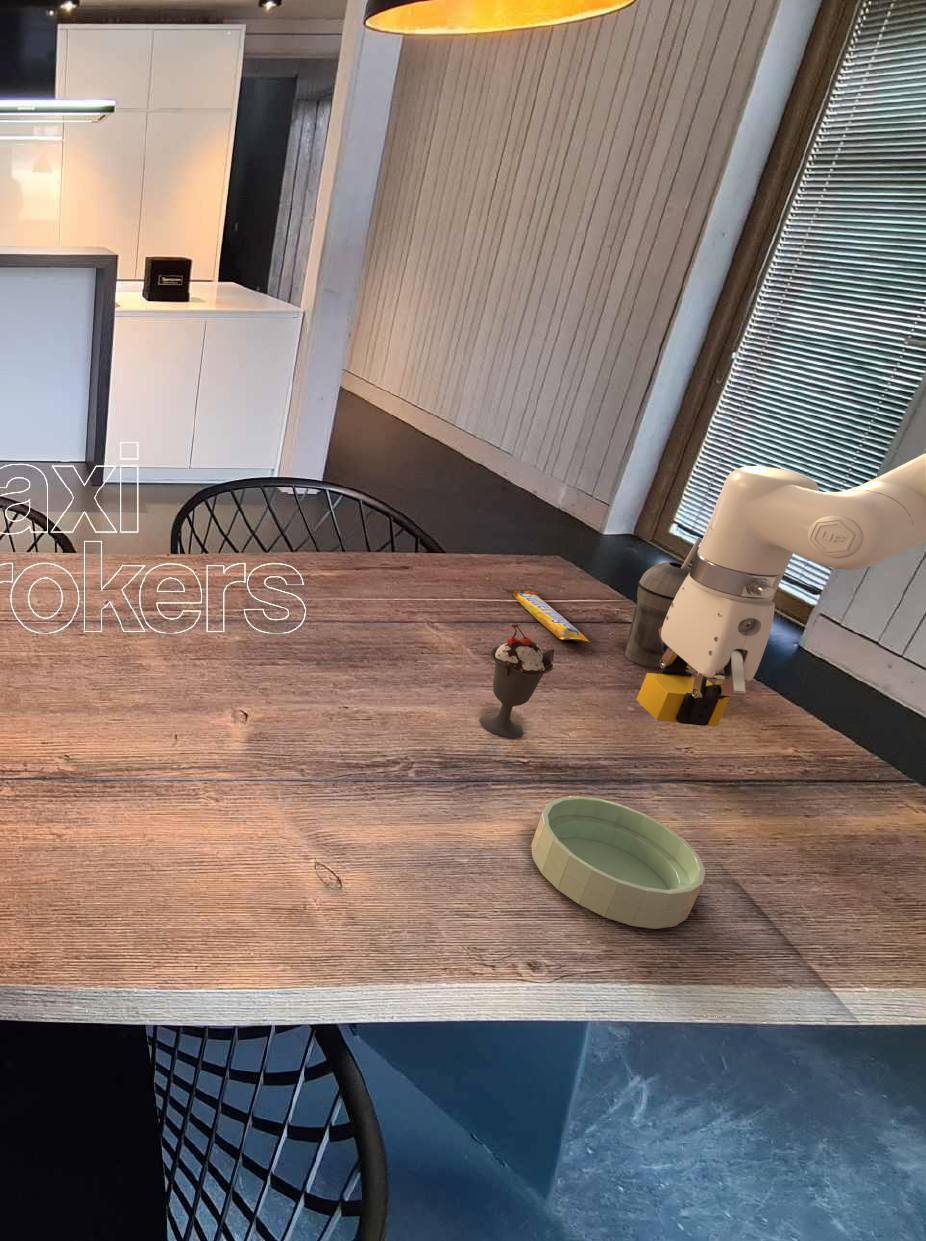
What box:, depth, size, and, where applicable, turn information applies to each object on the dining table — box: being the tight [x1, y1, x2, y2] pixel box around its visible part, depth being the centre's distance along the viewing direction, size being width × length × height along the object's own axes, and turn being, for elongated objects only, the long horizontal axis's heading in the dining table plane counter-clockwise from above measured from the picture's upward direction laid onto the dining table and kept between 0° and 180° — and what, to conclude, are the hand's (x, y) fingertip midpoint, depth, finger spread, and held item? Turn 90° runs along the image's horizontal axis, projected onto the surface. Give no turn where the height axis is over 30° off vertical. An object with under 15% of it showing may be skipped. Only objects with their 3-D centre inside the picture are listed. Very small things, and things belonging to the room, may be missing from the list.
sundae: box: [479, 623, 555, 739], centre depth 103 cm, size 7×7×15 cm
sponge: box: [636, 672, 730, 727], centre depth 99 cm, size 6×4×4 cm
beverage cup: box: [624, 537, 703, 668], centre depth 118 cm, size 7×7×20 cm
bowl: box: [530, 795, 707, 930], centre depth 81 cm, size 13×13×5 cm
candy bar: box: [512, 590, 593, 643], centre depth 132 cm, size 17×4×2 cm, turn 174°
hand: (678, 709), depth 99 cm, fingers closed on sponge, 4 cm apart
